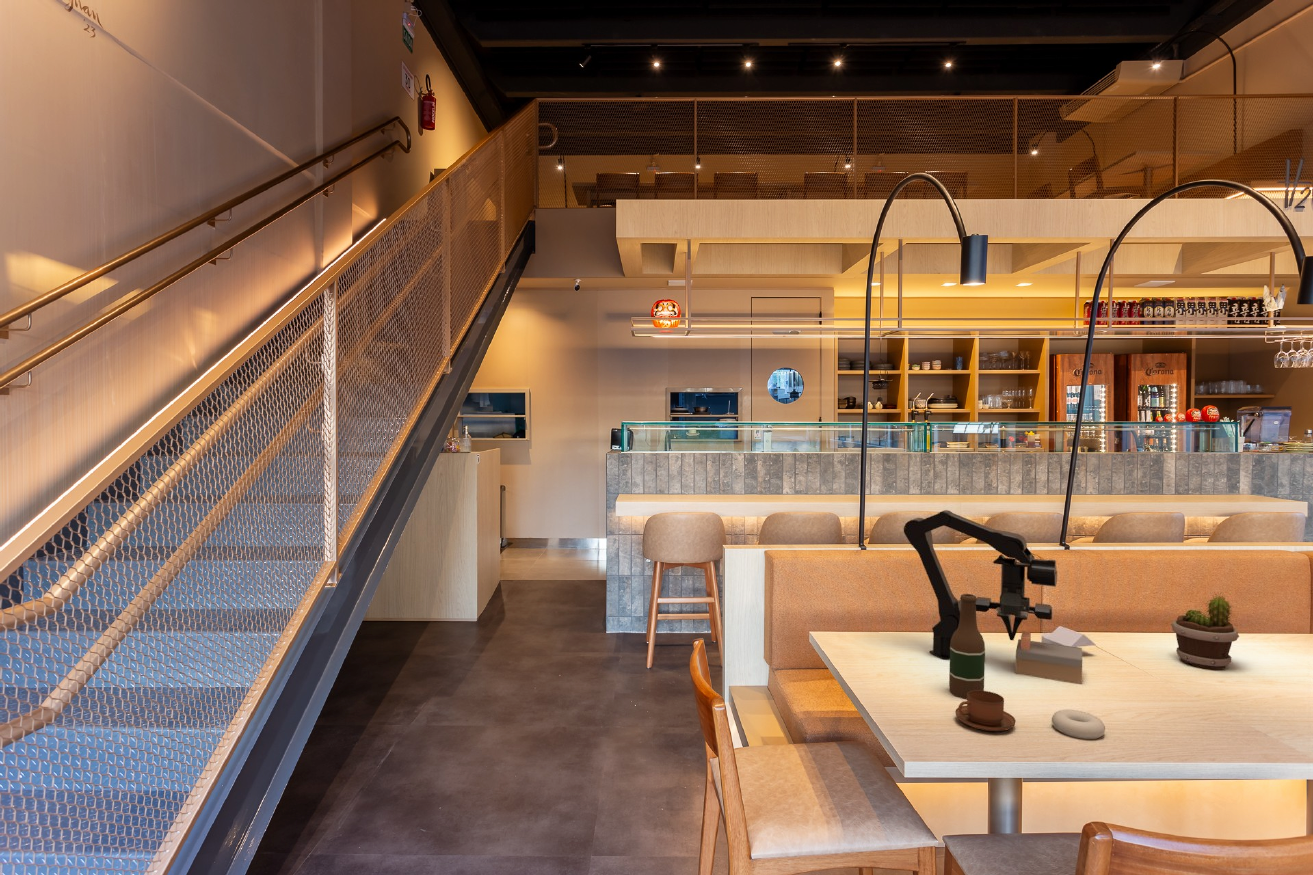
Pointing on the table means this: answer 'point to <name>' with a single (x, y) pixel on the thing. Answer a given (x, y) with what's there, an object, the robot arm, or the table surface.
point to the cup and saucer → (985, 711)
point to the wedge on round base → (1066, 638)
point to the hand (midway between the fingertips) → (1011, 639)
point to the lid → (1048, 652)
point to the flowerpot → (1206, 635)
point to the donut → (1078, 724)
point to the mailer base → (1049, 670)
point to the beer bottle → (967, 652)
